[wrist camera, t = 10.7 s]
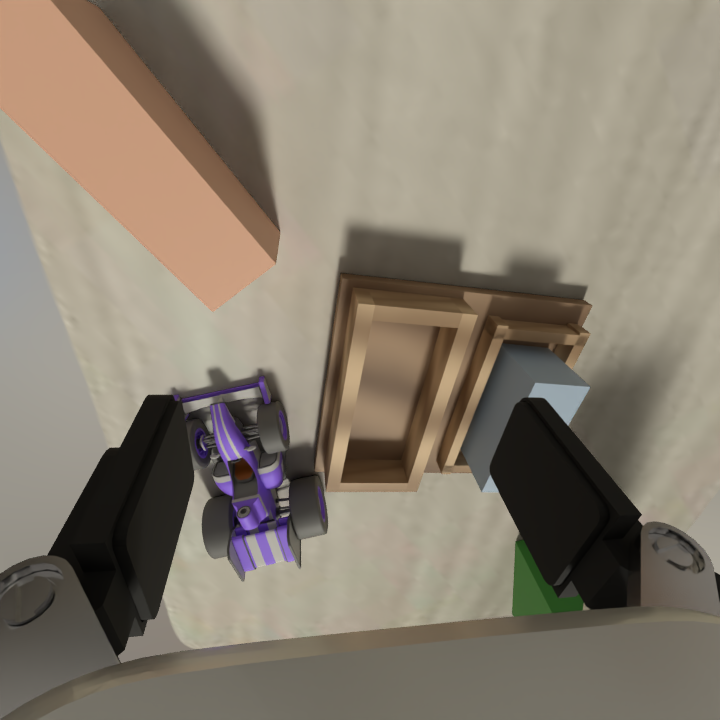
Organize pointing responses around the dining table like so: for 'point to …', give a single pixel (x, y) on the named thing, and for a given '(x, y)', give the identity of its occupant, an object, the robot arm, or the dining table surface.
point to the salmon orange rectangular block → (130, 145)
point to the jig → (421, 373)
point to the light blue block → (517, 400)
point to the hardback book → (536, 589)
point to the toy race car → (252, 483)
